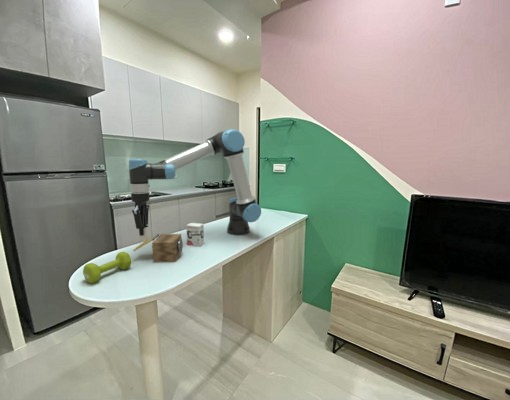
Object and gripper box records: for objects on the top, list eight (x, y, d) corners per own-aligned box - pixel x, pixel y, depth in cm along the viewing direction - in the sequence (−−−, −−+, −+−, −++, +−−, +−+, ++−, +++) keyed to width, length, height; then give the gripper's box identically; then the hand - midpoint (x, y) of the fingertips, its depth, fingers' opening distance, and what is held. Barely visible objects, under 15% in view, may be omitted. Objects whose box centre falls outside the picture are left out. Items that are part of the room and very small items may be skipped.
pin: (182, 248, 112) (182, 238, 111) (179, 253, 106) (179, 242, 105) (157, 249, 111) (157, 238, 110) (153, 254, 106) (152, 242, 105)
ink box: (186, 244, 125) (185, 224, 122) (191, 241, 129) (190, 222, 127) (200, 246, 122) (199, 226, 120) (204, 243, 127) (204, 223, 125)
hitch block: (182, 251, 115) (181, 234, 114) (175, 261, 104) (174, 242, 102) (162, 251, 115) (161, 234, 113) (153, 262, 103) (152, 242, 101)
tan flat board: (159, 235, 111) (158, 233, 110) (154, 240, 104) (153, 238, 104) (140, 246, 111) (139, 244, 111) (134, 251, 104) (132, 249, 104)
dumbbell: (92, 286, 83) (90, 268, 82) (81, 281, 87) (79, 264, 86) (134, 268, 97) (132, 253, 96) (123, 264, 101) (121, 249, 100)
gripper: (138, 190, 109) (141, 236, 113) (124, 194, 96) (128, 246, 100) (153, 190, 110) (156, 236, 114) (142, 194, 97) (145, 246, 101)
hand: (143, 241), depth 107 cm, fingers closed
